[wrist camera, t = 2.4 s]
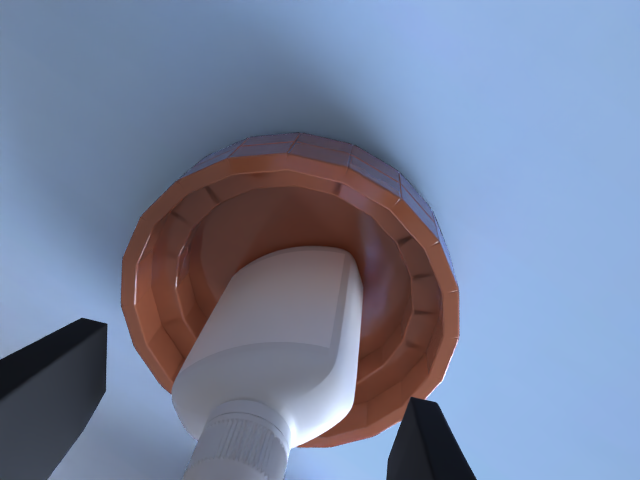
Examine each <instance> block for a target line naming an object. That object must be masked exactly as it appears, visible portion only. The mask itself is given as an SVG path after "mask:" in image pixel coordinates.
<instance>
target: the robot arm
mask: <svg viewBox="0 0 640 480" xmlns="http://www.w3.org/2000/svg"><path fill="white" fill-rule="evenodd" d="M106 358H107V324H106V323H102V322H98V321H93V320H89V319H85V318H81V319H79V320H77V321H75V322H72V323H70V324H68V325H67V326H65V327H63V328H61V329H59V330H57V331H55V332H53V333H51V334H49V335H47V336H45V337H44V338H42V339H40V340H38V341H36V342H34V343H32V344H30V345H28V346H26V347H24V348H22V349H20V350H18V351H16V352H14V353H12V354H10V355H8V356H6V357H4V358H2V359H0V480H47V479H48V478H49V476H50V475H51V474H52V472H53V471H54V470H55V468H56V467H57V466H58V464H59V463H60V462H61V460H62V459H63V458H64V456H65V455H66V453H67V452H68V451H69V449H70V448H71V447H72V445H73V444H74V443H75V441H76V440H77V438H78V437H79V436H80V434H81V433H82V432H83V430H84V428H85V427H86V425H87V423H88V422H89V420H90V418H91V417H92V415H93V413H94V411H95V410H96V408H97V406H98V404H99V402H100V400H101V399H102V397H103V395H104V393H105V391H106ZM386 480H477V479H476V477H475V475H474V474H473V472H472V470H471V468H470V466H469V465H468V463H467V461H466V459H465V457H464V455H463V453H462V451H461V449H460V447H459V445H458V443H457V441H456V439H455V437H454V435H453V433H452V431H451V429H450V427H449V425H448V423H447V421H446V419H445V417H444V415H443V413H442V411H441V409H440V407H439V405H438V404H437V403H436V402H432V401H428V400H424V399H419V398H415V397H410V400H409V403H408V405H407V408H406V411H405V414H404V416H403V419H402V422H401V425H400V427H399V430H398V433H397V436H396V438H395V441H394V444H393V447H392V449H391V452H390V455H389V458H388V465H387V479H386Z"/></svg>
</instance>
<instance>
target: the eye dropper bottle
mask: <svg viewBox="0 0 640 480" xmlns="http://www.w3.org/2000/svg"><path fill="white" fill-rule="evenodd" d="M362 303H363V284H362V280H361V277H360V274H359V270H358V267H357V264H356V261H355V259H354V258H353V256H352V255H351V253H349V252H347V251H345V250H344V249H340V248H335V247H326V246H300V247H292V248H287V249H282V250H278V251H275V252H272V253H269V254H267V255H264V256H262V257H260V258H258V259H256V260H254V261H252V262H251V263H249V264H248V265H246V266H245V267H243V268H242V269H240V270H239V271H238V272H237V273H236V274H235V275H234V276H233V277H232V278H231V280H230V282H229V284H228V285H227V287H226V289H225V291H224V292H223V294H222V296H221V298H220V299H219V301H218V303H217V305H216V306H215V308H214V310H213V312H212V313H211V315H210V317H209V319H208V321H207V322H206V324H205V326H204V328H203V329H202V331H201V333H200V335H199V337H198V338H197V340H196V342H195V344H194V346H193V347H192V349H191V351H190V353H189V355H188V356H187V358H186V360H185V362H184V364H183V366H182V368H181V370H180V371H179V373H178V375H177V377H176V379H175V381H174V384H173V387H172V393H171V394H172V402H173V405H174V408H175V410H176V413H177V415H178V417H179V419H180V421H181V423H182V425H183V426H184V428H185V429H186V431H187V432H188V434H189V435H190V436H191V437H193V438H194V439H195V440H197V441H198V442H197V445H196V447H195V449H194V452H193V454H192V456H191V459H190V461H189V463H188V466H187V468H186V470H185V472H184V475H183V479H182V480H284V476H285V471H286V467H287V462H288V457H289V453H290V449H292V448H294V447H296V446H299V445H301V444H304V443H305V442H307V441H309V440H312V439H314V438H315V437H317V436H319V435H321V434H322V433H324V432H326V431H327V430H329V429H330V428H332V427H333V426H334V425H336V424H337V423H338V422H340V421H341V420H342V419H343V418H344V417H345V416H346V415H347V414H348V412H349V411H350V410H351V408H352V405H353V402H354V396H355V387H356V378H357V366H358V354H359V342H360V330H361V316H362Z"/></svg>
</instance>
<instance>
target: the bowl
mask: <svg viewBox="0 0 640 480" xmlns="http://www.w3.org/2000/svg"><path fill="white" fill-rule="evenodd" d="M300 246H326V247H335V248H340V249H344V250H345V251H347V252H349V253H351V255H352V256H353V258H354V259H355V261H356V264H357V267H358V270H359V274H360V277H361V280H362V284H363V303H362V316H361V330H360V342H359V354H358V366H357V378H356V387H355V396H354V402H353V405H352V408H351V410H350V411H349V412H348V414H347V415H346V416H345V417H344V418H343V419H342V420H341V421H340V422H338V423H337V424H336V425H334V426H333V427H332V428H330V429H329V430H327V431H326V432H324V433H322V434H321V435H319V436H317V437H315V438H314V439H312V440H309V441H307V442H305V443H304V444H301V445H299V446H296V447H313V448H328V447H334V446H338V445H342V444H346V443H350V442H354V441H358V440H362V439H366V438H370V437H373V436H376V435H378V434H379V433H381V432H383V431H385V430H386V429H388V428H390V427H392V426H393V425H395V424H397V423H398V422H400V421H402V419H403V416H404V414H405V411H406V408H407V405H408V403H409V400H410V397H415V398H419V399H424V400H426V399H427V398H428V396H429V395H430V394H431V393H432V392H433V391H434V390H435V389H436V388H437V386H438V385H439V384H440V383H441V382H442V380H443V379H444V376H445V374H446V371H447V369H448V366H449V363H450V361H451V358H452V356H453V353H454V351H455V348H456V346H457V343H458V340H459V289H458V284H457V280H456V277H455V273H454V269H453V265H452V262H451V258H450V254H449V251H448V248H447V245H446V243H445V240H444V238H443V235H442V233H441V230H440V228H439V225H438V223H437V220H436V217H435V215H434V212H433V211H432V210H431V207H430V206H429V205H428V204H427V203H426V202H425V201H424V199H423V198H422V197H421V196H420V195H419V194H418V192H417V191H416V190H415V189H414V188H413V187H412V186H411V184H410V183H409V182H408V181H407V180H406V179H405V177H404V176H403V175H402V174H401V173H399V171H398V170H396V169H395V168H393V167H391V166H390V165H388V164H386V163H384V162H383V161H381V160H379V159H378V158H376V157H374V156H373V155H371V154H369V153H368V152H366V151H364V150H363V149H361V148H359V147H358V146H356V145H352V144H350V143H346V142H341V141H337V140H332V139H328V138H324V137H319V136H315V135H310V134H306V133H299V132H298V133H287V134H277V135H266V136H255V137H250V138H246V139H244V140H241V141H239V142H237V143H235V144H232V145H230V146H228V147H226V148H224V149H221V150H219V151H217V152H215V153H213V154H210V155H208V156H206V157H205V158H203V159H202V160H201V161H199V162H198V163H197V164H196V165H195V166H193V167H192V168H191V169H190V170H189V171H187V172H186V173H185V174H184V175H183V176H181V177H180V178H179V179H178V180H177V181H175V182H174V183H173V184H172V185H171V186H170V187H169V188H168V189H167V190H166V191H165V192H164V193H163V194H162V195H161V196H160V197H159V198H158V199H157V200H156V201H155V202H154V203H153V204H152V205H151V206H150V207H149V208H148V209H147V210H146V211H145V212H144V213H143V214H142V216H141V217H140V219H139V221H138V223H137V226H136V228H135V230H134V232H133V235H132V237H131V239H130V242H129V244H128V246H127V249H126V251H125V253H124V256H123V260H122V281H121V308H122V311H123V314H124V317H125V320H126V323H127V327H128V330H129V333H130V336H131V339H132V342H133V346H134V347H135V349H136V351H137V352H138V354H139V355H140V356H141V358H142V359H143V361H144V362H145V364H146V365H147V367H148V368H149V370H150V371H151V372H152V374H153V375H154V377H155V378H156V380H157V381H158V383H159V384H161V386H162V387H163V388H164V389H165V390H167V391H168V392H169V393H170V394H171V393H172V387H173V384H174V381H175V379H176V377H177V375H178V373H179V371H180V370H181V368H182V366H183V364H184V362H185V360H186V358H187V356H188V355H189V353H190V351H191V349H192V347H193V346H194V344H195V342H196V340H197V338H198V337H199V335H200V333H201V331H202V329H203V328H204V326H205V324H206V322H207V321H208V319H209V317H210V315H211V313H212V312H213V310H214V308H215V306H216V305H217V303H218V301H219V299H220V298H221V296H222V294H223V292H224V291H225V289H226V287H227V285H228V284H229V282H230V280H231V278H232V277H233V276H234V275H235V274H236V273H237V272H238V271H239V270H240V269H242V268H243V267H245V266H246V265H248V264H249V263H251V262H252V261H254V260H256V259H258V258H260V257H262V256H264V255H267V254H269V253H272V252H275V251H278V250H282V249H287V248H292V247H300ZM171 395H172V394H171Z"/></svg>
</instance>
